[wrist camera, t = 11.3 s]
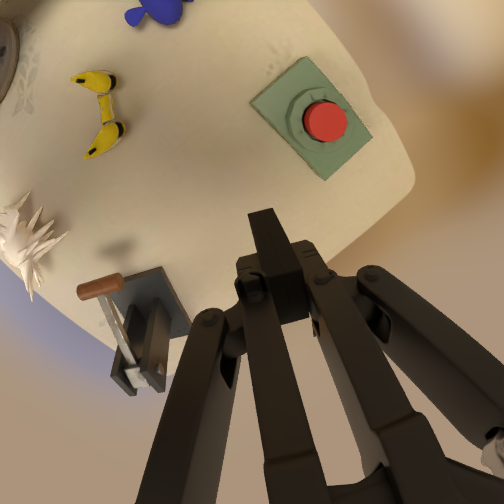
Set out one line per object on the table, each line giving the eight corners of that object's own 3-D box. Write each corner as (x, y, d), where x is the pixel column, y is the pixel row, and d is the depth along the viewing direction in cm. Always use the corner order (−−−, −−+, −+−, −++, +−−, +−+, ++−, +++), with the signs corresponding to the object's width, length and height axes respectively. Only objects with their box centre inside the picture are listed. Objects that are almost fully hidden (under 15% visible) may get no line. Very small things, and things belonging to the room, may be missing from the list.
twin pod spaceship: (138, 144, 28) (118, 153, 25) (98, 152, 30) (79, 161, 27) (125, 59, 23) (104, 59, 20) (85, 76, 24) (64, 79, 22)
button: (295, 118, 26) (300, 120, 25) (323, 94, 25) (330, 94, 24) (320, 146, 28) (326, 149, 27) (347, 122, 27) (354, 125, 26)
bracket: (106, 282, 37) (77, 357, 25) (161, 266, 37) (145, 345, 25) (144, 339, 43) (132, 412, 32) (194, 328, 43) (193, 404, 31)
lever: (83, 282, 29) (73, 288, 26) (121, 269, 29) (112, 275, 26) (128, 378, 31) (122, 390, 29) (166, 373, 31) (162, 384, 29)
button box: (248, 103, 28) (253, 103, 25) (300, 57, 26) (312, 53, 23) (318, 176, 34) (330, 186, 30) (364, 134, 31) (381, 140, 28)
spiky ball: (43, 170, 29) (4, 185, 21) (92, 241, 33) (64, 272, 26) (4, 219, 30) (-30, 241, 23) (49, 281, 35) (22, 312, 28)
